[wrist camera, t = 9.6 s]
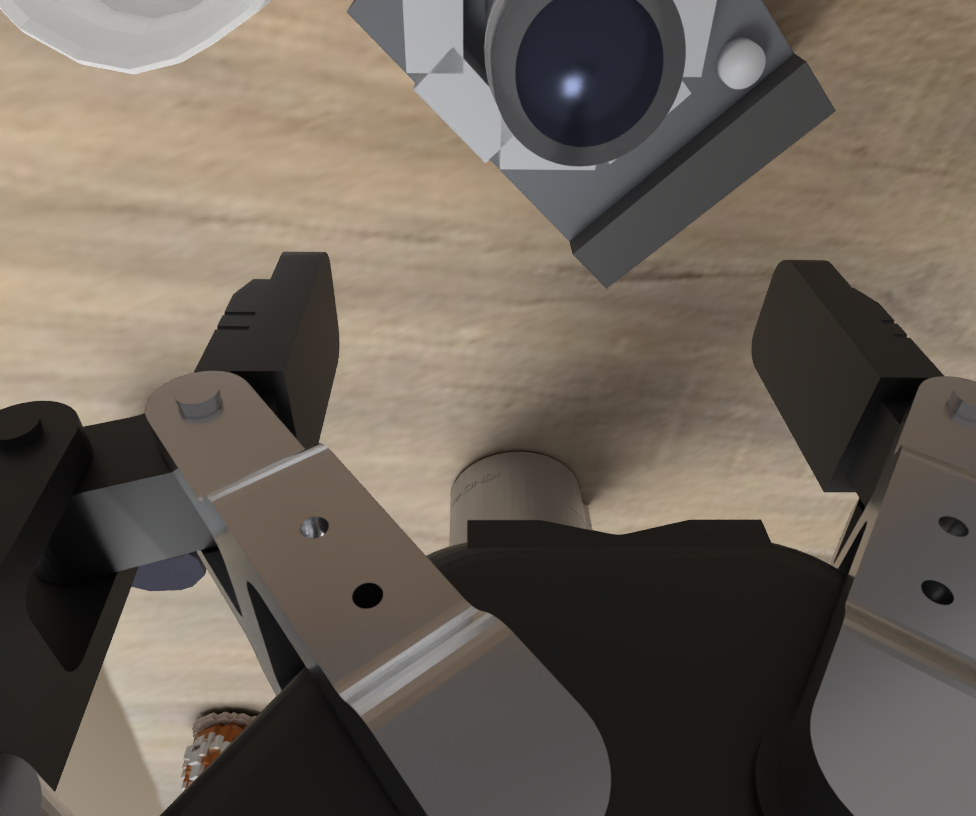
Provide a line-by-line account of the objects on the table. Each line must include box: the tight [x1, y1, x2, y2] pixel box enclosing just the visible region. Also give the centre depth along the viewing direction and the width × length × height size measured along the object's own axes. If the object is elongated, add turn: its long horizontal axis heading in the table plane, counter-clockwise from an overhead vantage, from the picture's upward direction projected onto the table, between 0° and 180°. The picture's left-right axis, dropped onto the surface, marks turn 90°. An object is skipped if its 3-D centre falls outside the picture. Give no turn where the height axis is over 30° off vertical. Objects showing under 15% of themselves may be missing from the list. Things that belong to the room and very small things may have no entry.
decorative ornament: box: [181, 712, 257, 790], centre depth 64 cm, size 8×8×15 cm
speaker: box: [131, 551, 207, 591], centre depth 42 cm, size 8×6×10 cm
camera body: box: [347, 0, 836, 289], centre depth 27 cm, size 15×11×7 cm
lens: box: [484, 0, 686, 167], centre depth 21 cm, size 5×5×9 cm
